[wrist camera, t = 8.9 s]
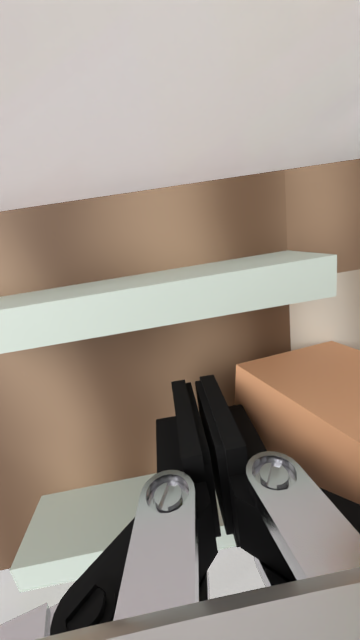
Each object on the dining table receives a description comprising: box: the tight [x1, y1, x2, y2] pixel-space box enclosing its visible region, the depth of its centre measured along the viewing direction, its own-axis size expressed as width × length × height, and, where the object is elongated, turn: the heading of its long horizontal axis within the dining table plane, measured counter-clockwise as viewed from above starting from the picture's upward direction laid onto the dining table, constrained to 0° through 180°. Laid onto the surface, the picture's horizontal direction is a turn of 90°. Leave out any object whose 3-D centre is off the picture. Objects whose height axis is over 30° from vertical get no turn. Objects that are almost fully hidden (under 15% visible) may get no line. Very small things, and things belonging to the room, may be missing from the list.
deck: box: [0, 159, 360, 570], centre depth 14 cm, size 47×16×4 cm, turn 99°
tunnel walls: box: [0, 250, 337, 593], centre depth 10 cm, size 12×10×3 cm
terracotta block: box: [234, 341, 360, 504], centre depth 9 cm, size 5×5×5 cm
